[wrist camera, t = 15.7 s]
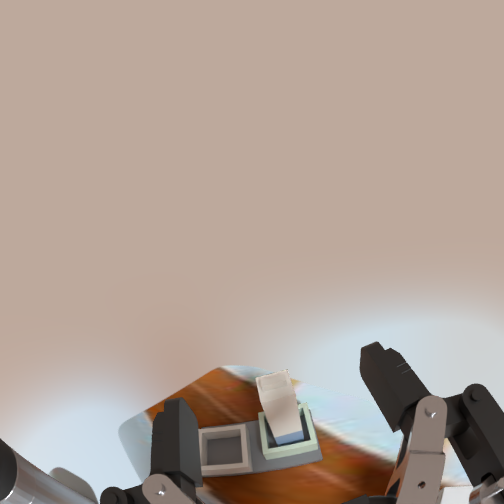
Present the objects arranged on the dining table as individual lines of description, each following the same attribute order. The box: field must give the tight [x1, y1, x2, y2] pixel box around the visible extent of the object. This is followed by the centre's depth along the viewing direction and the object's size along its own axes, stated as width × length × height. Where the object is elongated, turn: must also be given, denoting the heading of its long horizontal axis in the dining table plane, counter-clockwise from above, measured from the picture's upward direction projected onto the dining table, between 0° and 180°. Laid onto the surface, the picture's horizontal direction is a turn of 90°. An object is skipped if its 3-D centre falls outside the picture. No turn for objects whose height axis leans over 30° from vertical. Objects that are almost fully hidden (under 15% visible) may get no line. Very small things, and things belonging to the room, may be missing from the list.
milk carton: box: [256, 369, 305, 447], centre depth 30 cm, size 4×4×14 cm
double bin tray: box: [198, 402, 323, 477], centre depth 32 cm, size 17×9×3 cm, turn 94°
